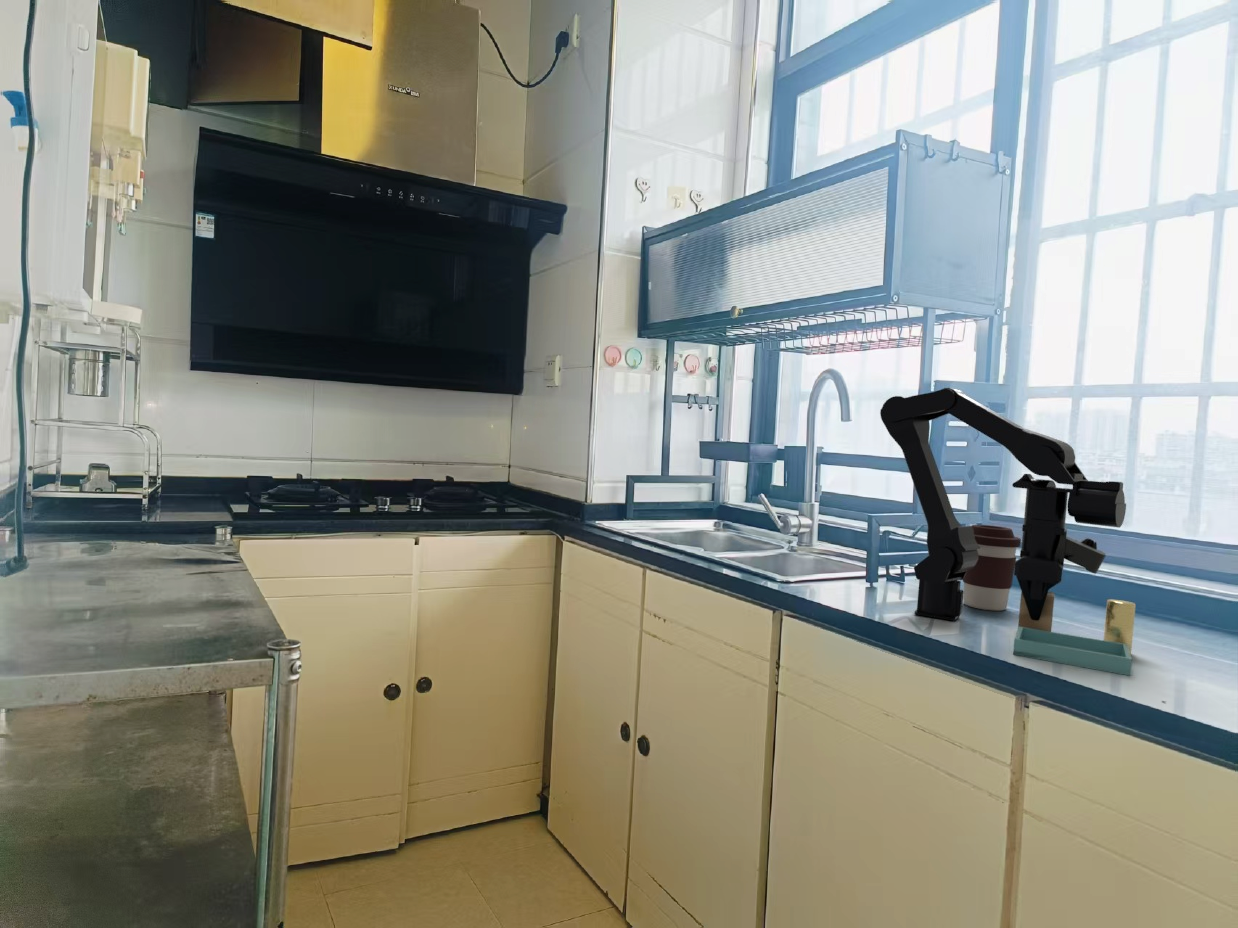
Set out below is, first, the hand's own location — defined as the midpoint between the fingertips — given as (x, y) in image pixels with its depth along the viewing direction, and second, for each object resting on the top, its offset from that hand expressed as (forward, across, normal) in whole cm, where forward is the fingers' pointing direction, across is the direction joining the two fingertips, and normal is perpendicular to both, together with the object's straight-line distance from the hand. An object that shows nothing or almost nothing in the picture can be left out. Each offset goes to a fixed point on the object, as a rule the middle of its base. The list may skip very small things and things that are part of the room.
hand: (1035, 617), depth 123 cm
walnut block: (+3, 0, 0) cm, 3 cm away
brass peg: (+3, -1, -11) cm, 11 cm away
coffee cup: (+3, +20, +9) cm, 22 cm away
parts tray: (+3, -10, -5) cm, 12 cm away
